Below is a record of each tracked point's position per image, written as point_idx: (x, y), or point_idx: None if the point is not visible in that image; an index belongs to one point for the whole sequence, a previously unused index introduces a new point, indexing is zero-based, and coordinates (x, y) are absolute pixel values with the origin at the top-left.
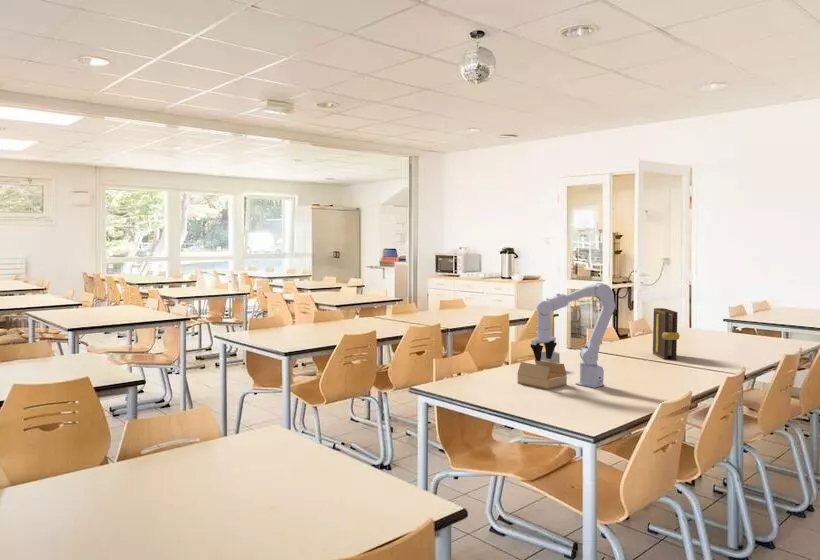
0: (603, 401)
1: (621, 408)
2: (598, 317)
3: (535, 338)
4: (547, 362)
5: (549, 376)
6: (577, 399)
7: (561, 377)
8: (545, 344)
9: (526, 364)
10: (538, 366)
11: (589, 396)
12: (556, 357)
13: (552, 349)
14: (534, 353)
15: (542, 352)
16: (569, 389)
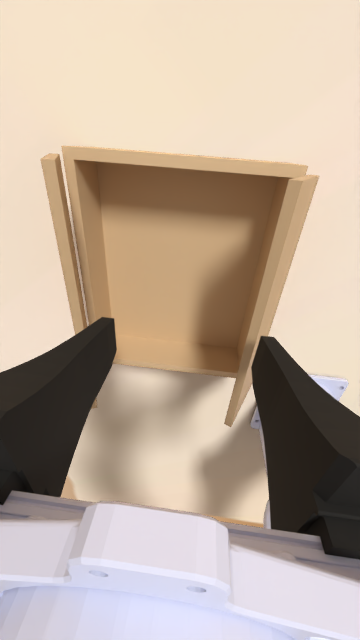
0: (124, 465)
1: (104, 491)
2: None
3: (71, 544)
4: (250, 325)
5: (258, 281)
6: (87, 430)
7: (201, 371)
8: (314, 452)
9: (57, 239)
10: None
11: (141, 438)
12: None
13: (270, 459)
14: (57, 353)
15: None
16: (175, 381)
